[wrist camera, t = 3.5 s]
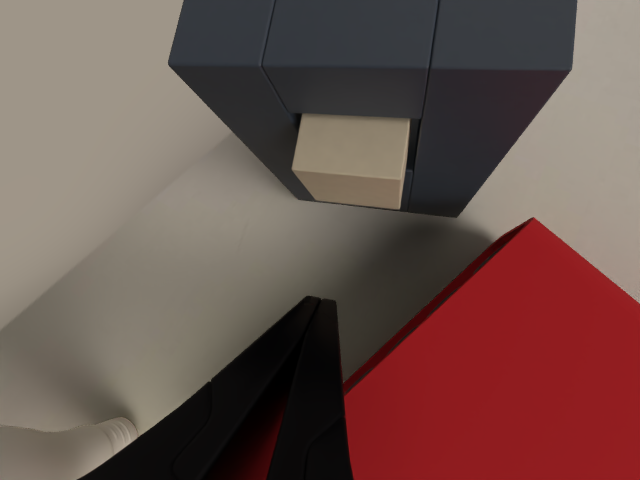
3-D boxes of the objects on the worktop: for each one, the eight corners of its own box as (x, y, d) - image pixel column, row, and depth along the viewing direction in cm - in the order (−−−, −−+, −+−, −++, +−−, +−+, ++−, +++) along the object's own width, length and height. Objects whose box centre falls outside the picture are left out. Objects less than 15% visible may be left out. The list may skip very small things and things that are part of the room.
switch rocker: (399, 210, 12) (401, 179, 9) (315, 200, 13) (290, 169, 10) (410, 138, 13) (415, 85, 9) (327, 132, 13) (307, 82, 10)
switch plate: (457, 218, 18) (573, 69, 6) (297, 200, 20) (165, 64, 8) (462, 173, 18) (582, -46, 7) (305, 160, 20) (187, -22, 9)
